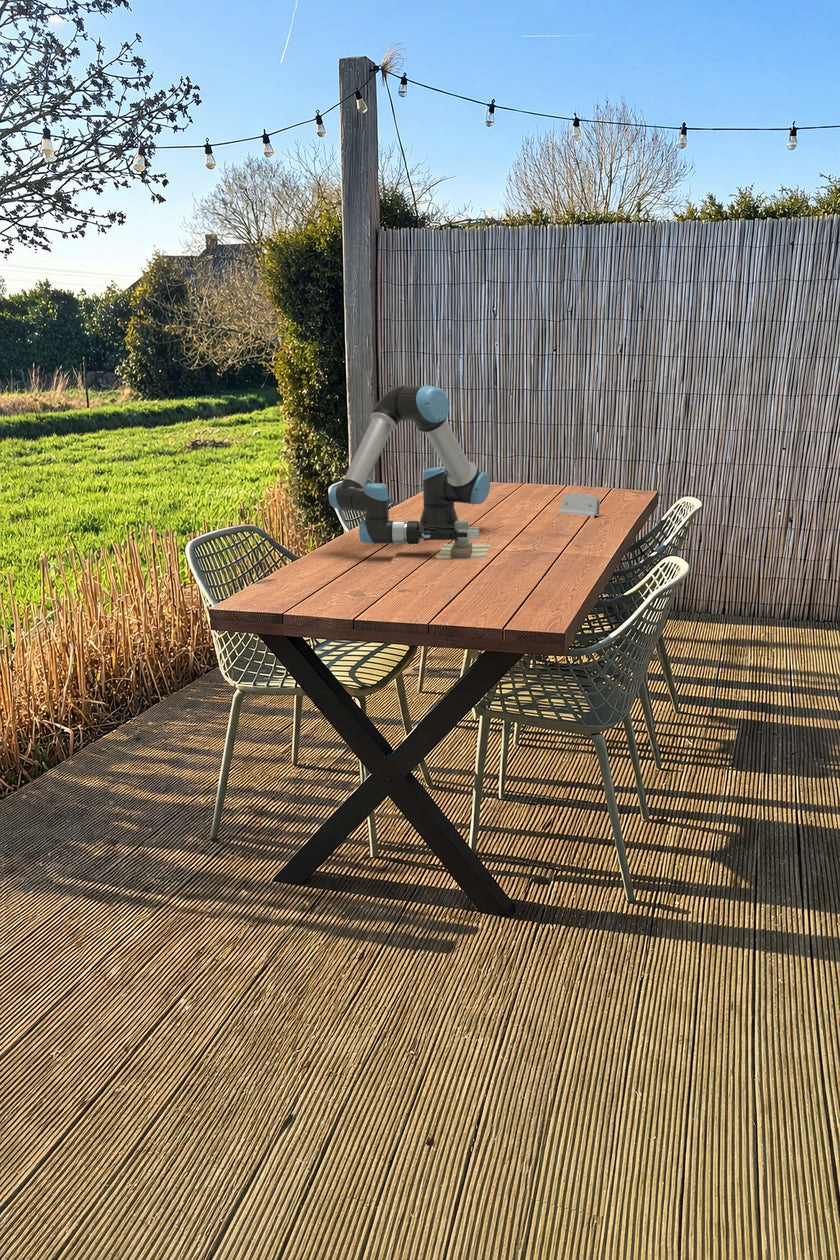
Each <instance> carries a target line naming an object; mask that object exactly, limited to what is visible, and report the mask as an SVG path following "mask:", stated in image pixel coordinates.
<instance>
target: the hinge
mask: <svg viewBox="0 0 840 1260" xmlns="http://www.w3.org/2000/svg"><path fill="white" fill-rule="evenodd" d="M600 506H601V500H600V499H599V498H598V497H596V496H594V495H591V494H587V493H579V492H576V493H575V492H573V493H568V494H565V495H563V497H562V500H561V503H560V506H559V509H558V510H557V513H567V514H580V515H588V516H594V517H595V516H597V515H599V516H600V508H601V507H600Z"/></svg>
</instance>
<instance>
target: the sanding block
mask: <svg viewBox="0 0 840 1260" xmlns="http://www.w3.org/2000/svg"><path fill="white" fill-rule="evenodd" d="M468 527H469V520H458V521H456V522H455V531H457V532H458V530H468ZM452 544H453V546H452V548H451V557H459V558H469V557H470V555H471V553H472V544H473V543H472V542H469V539H458V537H457V541H455V540H454V543H452ZM459 558H458V559H459Z"/></svg>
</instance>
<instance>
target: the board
mask: <svg viewBox="0 0 840 1260" xmlns="http://www.w3.org/2000/svg"><path fill="white" fill-rule="evenodd" d="M453 544H454V543H443V545H442V546H441V548H440V550H439V552H438V553H437V555H436V557H435V559H458V560H459V559H464V560H465V559H468V560H469V559H471V560H472V559H477V560H481V559H482V560H486V558H487V556H488V552H489V551H490V547H491V544H476V543H475V544H473V543H472V553H471V555H470V557H469V558H459V557H451V548H452V546H453Z"/></svg>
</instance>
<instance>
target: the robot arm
mask: <svg viewBox="0 0 840 1260" xmlns="http://www.w3.org/2000/svg"><path fill="white" fill-rule="evenodd" d="M449 404H450V402H449V398H448V395H447V394H446V392H445V391H444V390H443V389H442V388H440V387H438V386H432V385H398V386H394V387H393V388H391V389H389V390H388V391H387V392H386V393H384V394H383V396H382V397H381V398H380V399H379V400H378V401H377V403H376V405H375V406H374V408H373V410H372V412H371V414H370V416H369V417H370V420H371V421H370V423H369V425H368V427H367V429H366V431H365V433H364V435H363V437H362V440H361V442H360V444H359V446H358V448H357V450H356V452H355V454H354V456H353V459H352V461H351V463H350V465H349V467H348V470H347V472H346V473H345V476H344V478H343V479H342V481H341V484H340V485H337V486H336V485H335V486H333V487H332V488H331V489H330V490H329V493H328V501H329V504H330V507H332V508H334V509H336V510H337V509H338V510H341V511H355V512H359V513H360V512H361V513H365V520H360V522H359V526H358V527H359V530H358V535H359V539H360V542H362V543H363V544H373V545H376V544H378V545H380V544H381V545H382V544H388V545H389V544H390V545H391V544H393V545H394V544H396V545H397V546H400V545H402V544H403V545H404V544H406V543H407V544H409V545H418V544H419V543H420V541H421V540H420V539H423V541H454V542H455V541H457V537H458V539H468V540H470V539H471V540H478V539H479V537H480V527H479V526H478V527H476V526H471V527H470V526H468V530H458V532H457V531H455V522H456V521H459V518H458V514H457V512H456V509H455V503H460V504H468V505H481V504H483V503H484V502H485V501H486V500H487V498H488V496H489V493H490V490H491V478H490V475H489V474H488V473H487V472H484V471H480V470H479V469H478V467H477V465H476V464H475V463H473V462H472V461H469V459H468V457H467V456H466V454H465V452H464V450H463V449H462V447H461V444H460V443H459V441H458V439H457V437H456V434H454V432H453V429H452V428H451V426H450V424H449V422H448V420H447V419H448V416H449V415H448V414H449V413H450V411H449V410H450V405H449ZM402 421H403V422H413V423H414V426H415V427H416V429H417V430H418V431H419V432H421V433H423V434H425V435H426V438H427V439H428V441H429V443H430V445H431V447H432V448H433V450H434V451H435V453H436V455H437V456H438V458H439V460H440V462H441V464H442V465H443V466H437V467H430V468H427V469H424V470H423V476H422V492H423V494H422V495H423V499H422V500H423V509H422V512H421V516H420V520H419V521H418V520H408V521H406V520H389V518H390V517H389V491H388V485H386V484H385V483H380V482H379V483H376V482H375V483H374V482H372V483H368V481H369V479H370V478H371V475H372V472H373V470H374V468H375V467H376V464H377V462H378V460H379V458H380V456H381V453H383V452H382V451H383V449H384V447H385V445H386V443H387V441H388V438H389V437H390V434H391V433H392V431H394V430H396V429H397V426H398V425H399V423H401V422H402Z"/></svg>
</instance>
